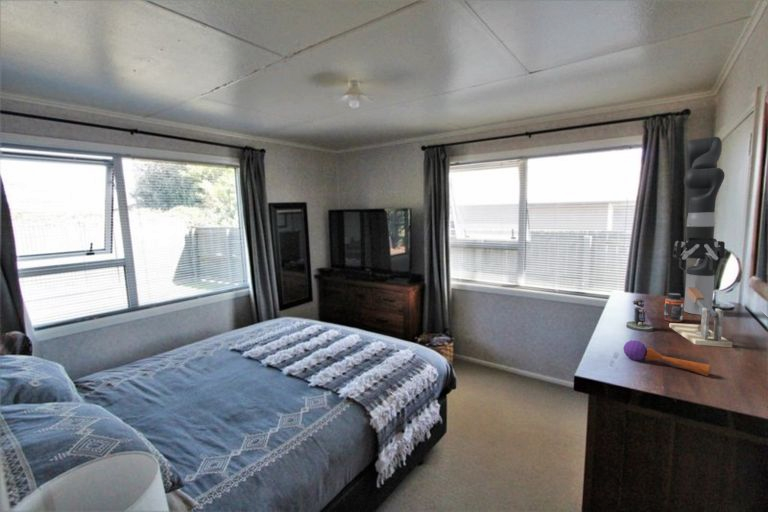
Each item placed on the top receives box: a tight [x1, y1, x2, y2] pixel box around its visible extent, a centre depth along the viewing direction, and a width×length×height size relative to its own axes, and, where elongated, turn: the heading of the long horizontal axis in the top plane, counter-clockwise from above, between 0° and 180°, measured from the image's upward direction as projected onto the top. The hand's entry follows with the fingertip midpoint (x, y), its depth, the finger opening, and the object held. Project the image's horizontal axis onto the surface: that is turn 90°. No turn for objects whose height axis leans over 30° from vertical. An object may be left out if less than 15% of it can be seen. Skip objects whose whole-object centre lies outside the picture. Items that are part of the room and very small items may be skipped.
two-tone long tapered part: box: [623, 339, 711, 377], centre depth 105 cm, size 6×6×20 cm
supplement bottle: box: [663, 292, 684, 323], centre depth 146 cm, size 6×6×11 cm
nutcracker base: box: [668, 308, 733, 348], centre depth 128 cm, size 20×10×12 cm, turn 161°
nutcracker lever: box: [687, 287, 718, 318], centre depth 126 cm, size 17×3×4 cm, turn 161°
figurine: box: [625, 297, 654, 333], centre depth 138 cm, size 8×8×12 cm
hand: (697, 269), depth 129 cm, fingers open, 8 cm apart
